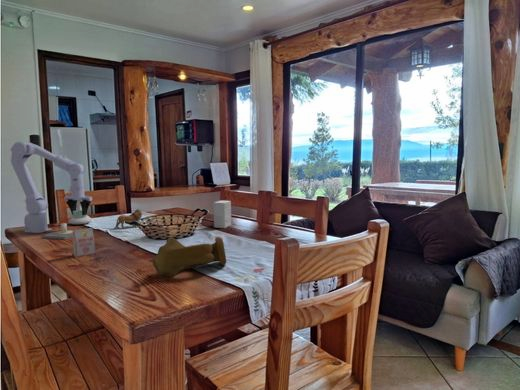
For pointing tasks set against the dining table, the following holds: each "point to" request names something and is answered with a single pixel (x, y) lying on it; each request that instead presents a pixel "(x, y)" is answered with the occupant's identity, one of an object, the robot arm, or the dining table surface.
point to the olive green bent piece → (187, 256)
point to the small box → (222, 214)
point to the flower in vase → (80, 220)
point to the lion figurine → (129, 218)
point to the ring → (78, 214)
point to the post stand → (60, 233)
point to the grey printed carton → (83, 242)
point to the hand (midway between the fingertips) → (79, 214)
